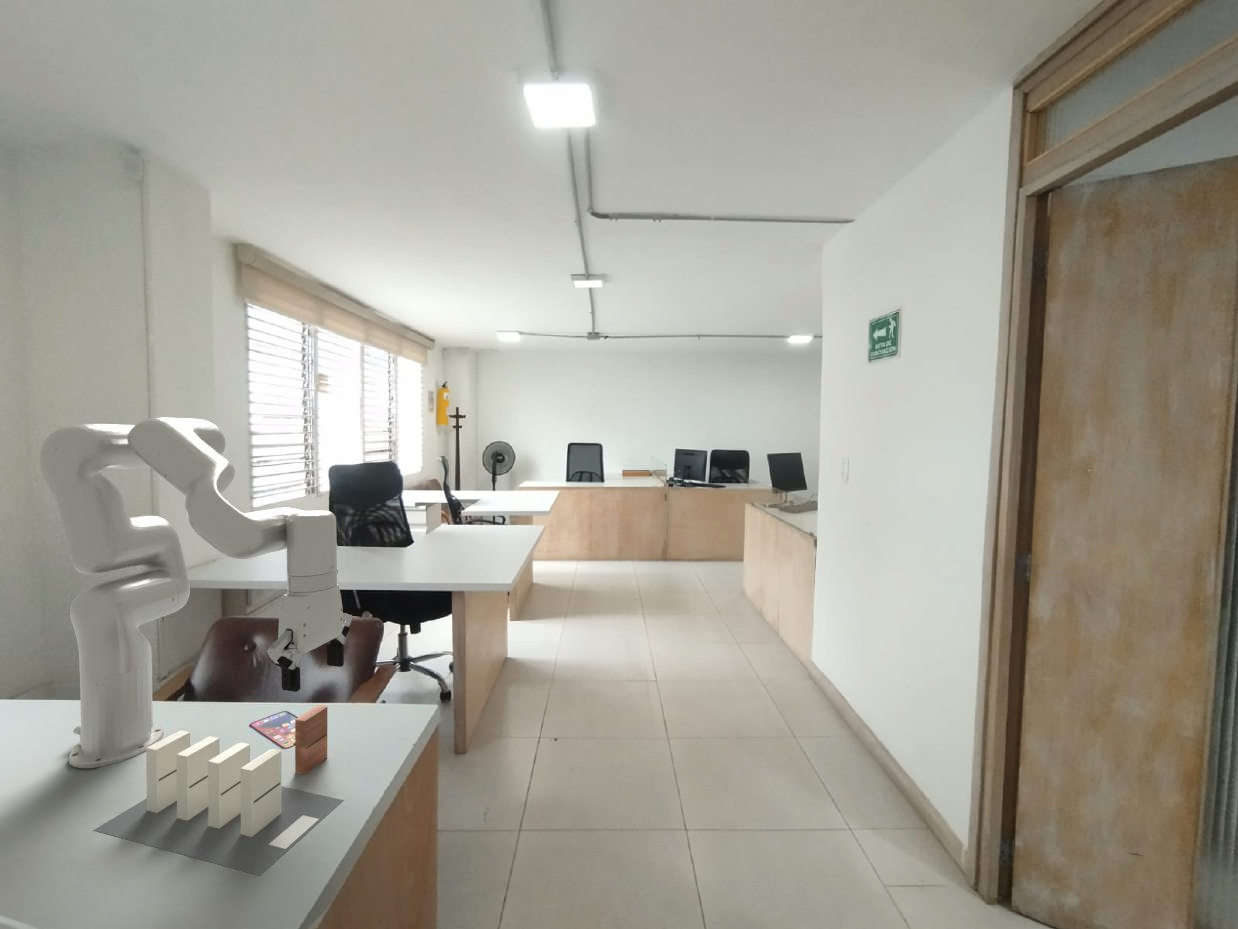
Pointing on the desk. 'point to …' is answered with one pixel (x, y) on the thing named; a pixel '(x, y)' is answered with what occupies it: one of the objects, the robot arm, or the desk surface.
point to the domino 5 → (310, 739)
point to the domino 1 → (164, 770)
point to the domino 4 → (260, 792)
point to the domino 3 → (226, 784)
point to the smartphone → (277, 729)
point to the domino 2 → (194, 777)
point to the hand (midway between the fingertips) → (314, 677)
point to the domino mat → (224, 831)
